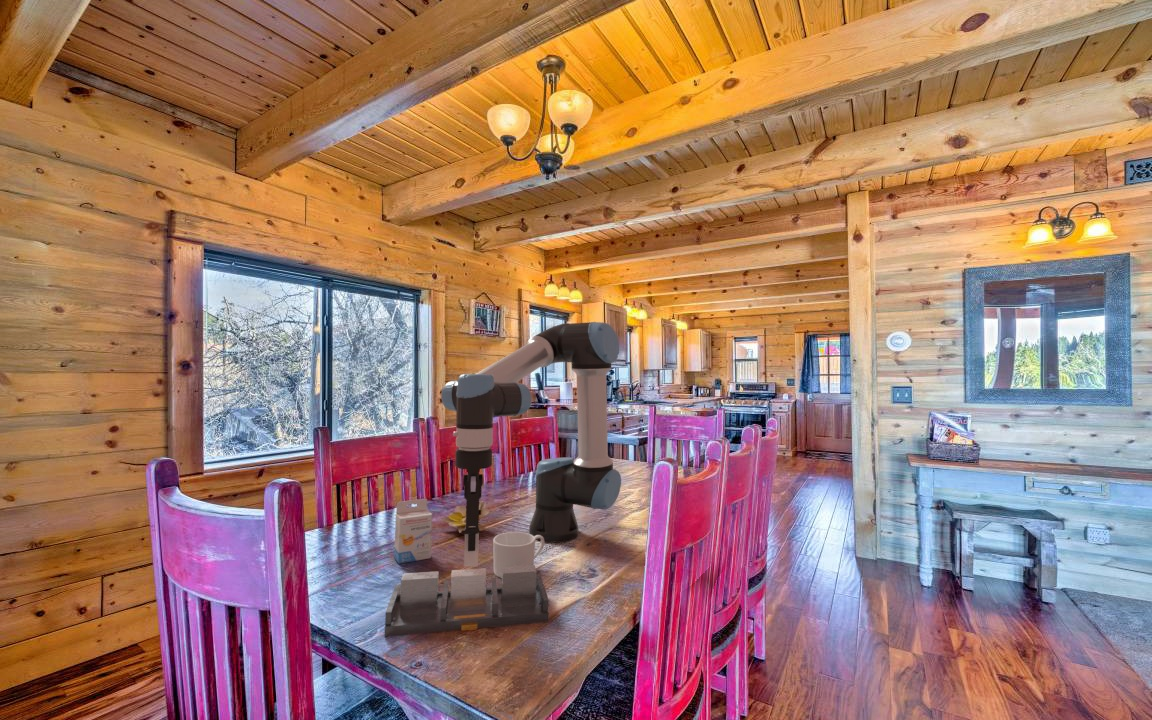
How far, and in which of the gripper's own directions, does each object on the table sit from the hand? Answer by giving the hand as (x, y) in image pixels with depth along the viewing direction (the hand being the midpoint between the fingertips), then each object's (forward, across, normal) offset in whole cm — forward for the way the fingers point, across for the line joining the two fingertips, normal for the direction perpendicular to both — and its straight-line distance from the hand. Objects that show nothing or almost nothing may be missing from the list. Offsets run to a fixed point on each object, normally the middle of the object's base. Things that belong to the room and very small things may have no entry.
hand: (471, 555), depth 99 cm
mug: (+12, -20, +12) cm, 26 cm away
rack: (+12, 0, 0) cm, 12 cm away
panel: (+10, 0, 0) cm, 10 cm away
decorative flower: (+12, -53, -2) cm, 54 cm away
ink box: (+12, -32, -15) cm, 37 cm away
